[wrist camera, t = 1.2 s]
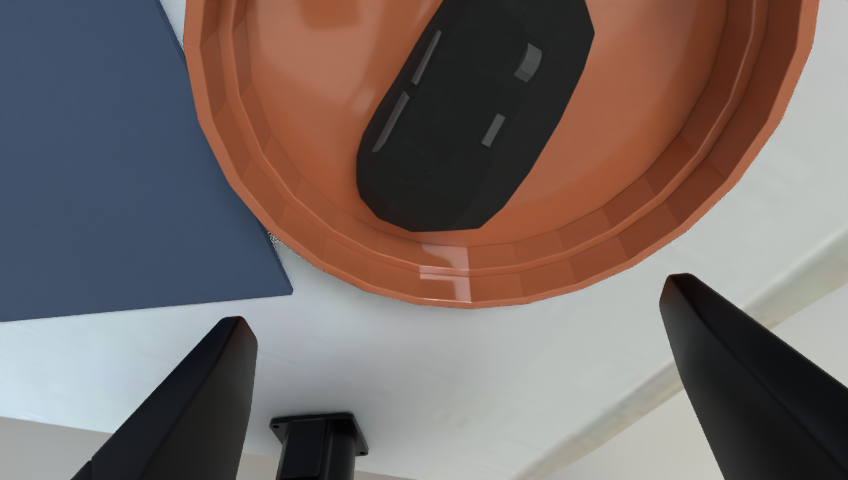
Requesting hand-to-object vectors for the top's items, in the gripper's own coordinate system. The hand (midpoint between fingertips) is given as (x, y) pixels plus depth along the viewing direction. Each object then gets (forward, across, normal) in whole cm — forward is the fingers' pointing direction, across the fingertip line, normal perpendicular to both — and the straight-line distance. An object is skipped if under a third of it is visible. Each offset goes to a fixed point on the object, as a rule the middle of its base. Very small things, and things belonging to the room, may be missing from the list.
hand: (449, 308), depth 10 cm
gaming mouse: (+11, -2, 0) cm, 12 cm away
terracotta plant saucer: (+12, -2, 0) cm, 12 cm away
